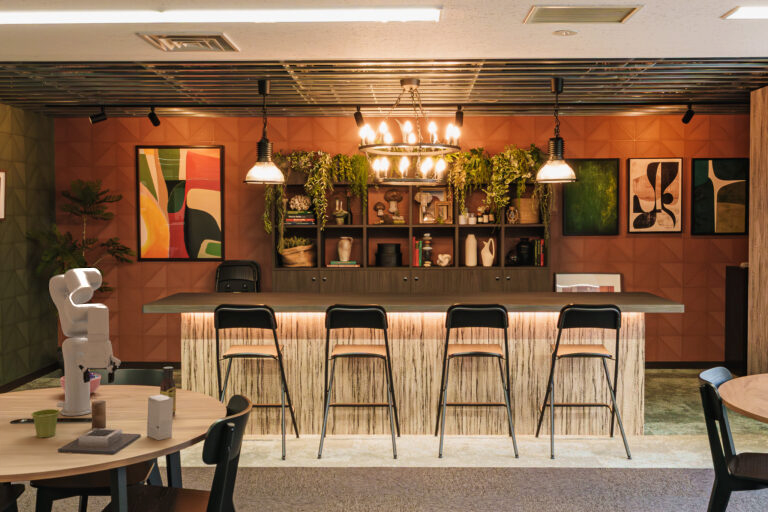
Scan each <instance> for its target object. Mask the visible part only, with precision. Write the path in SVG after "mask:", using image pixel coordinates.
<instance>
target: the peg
mask: <svg viewBox="0 0 768 512" xmlns="http://www.w3.org/2000/svg"><path fill="white" fill-rule="evenodd" d="M106 404H107V401H106V400H100V399H99V400H94V401H91V406H92V412H91V430H92V429H94V428H101V429H107V424H106V423H107V420H106V419H107V412H106V411H107V410H106V409H107V405H106Z"/></svg>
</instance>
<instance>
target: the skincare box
mask: <svg viewBox="0 0 768 512" xmlns="http://www.w3.org/2000/svg"><path fill="white" fill-rule="evenodd" d="M147 400H148V401H147V402H148V403H147V419H146V421H147V423H146V424H147V425H146V426H147V427H146V436H147V437H149V438H152V439H154V440H157V441H162V440H166V439H170V438H172V437H173V417H174V416H173V398H170V397H168V396H164V395H160V394H157V395H156V394H155V395H150V396H148V399H147Z"/></svg>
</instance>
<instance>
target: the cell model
mask: <svg viewBox="0 0 768 512" xmlns="http://www.w3.org/2000/svg"><path fill="white" fill-rule="evenodd" d="M101 378H102V376H101V374H98V373H96V372H90V395H91V394H93V393H95V392H96V391H97V390H98V389H99V387H100V385H101ZM60 386H61V387H62V389H63V391H64V392H65V375H64V376H62V377H60Z"/></svg>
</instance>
